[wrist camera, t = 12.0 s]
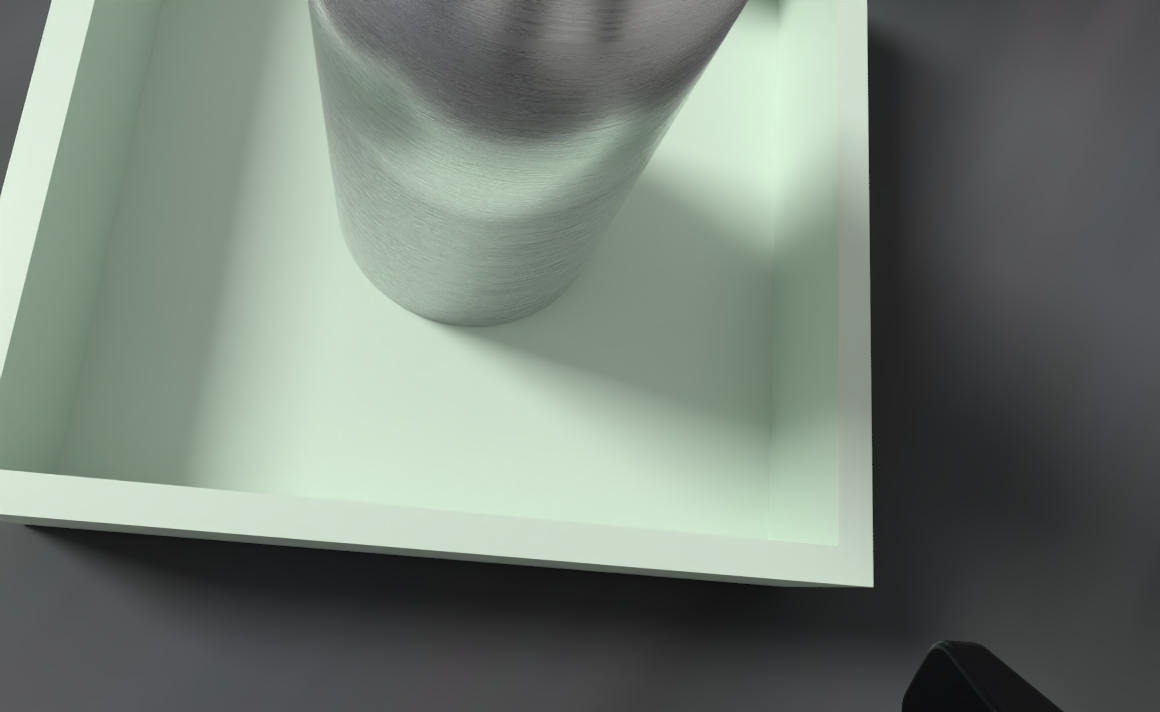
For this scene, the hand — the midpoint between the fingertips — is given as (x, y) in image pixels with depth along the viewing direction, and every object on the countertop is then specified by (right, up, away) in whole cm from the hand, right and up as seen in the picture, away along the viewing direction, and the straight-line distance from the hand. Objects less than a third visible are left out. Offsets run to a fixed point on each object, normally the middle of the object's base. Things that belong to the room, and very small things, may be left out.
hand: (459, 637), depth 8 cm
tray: (-1, +5, +11) cm, 12 cm away
